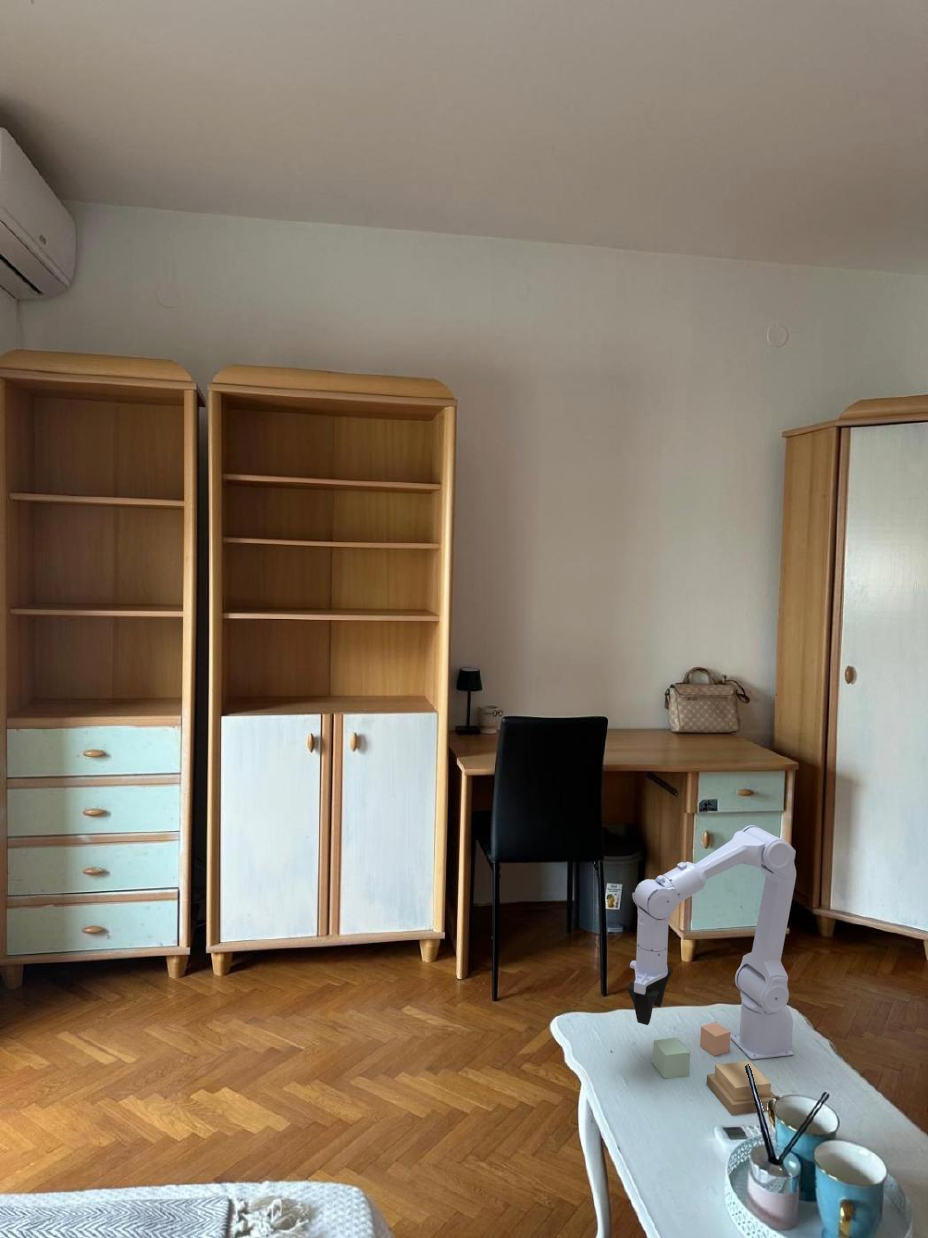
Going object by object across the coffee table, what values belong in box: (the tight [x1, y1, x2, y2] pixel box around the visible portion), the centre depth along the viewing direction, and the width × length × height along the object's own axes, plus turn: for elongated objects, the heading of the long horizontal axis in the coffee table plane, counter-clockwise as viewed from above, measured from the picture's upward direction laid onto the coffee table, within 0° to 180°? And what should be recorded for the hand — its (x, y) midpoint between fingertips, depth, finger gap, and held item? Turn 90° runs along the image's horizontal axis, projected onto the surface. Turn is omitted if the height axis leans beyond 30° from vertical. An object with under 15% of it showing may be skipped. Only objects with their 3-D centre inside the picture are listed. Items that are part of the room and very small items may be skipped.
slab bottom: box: [706, 1073, 776, 1116], centre depth 156 cm, size 9×9×2 cm
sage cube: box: [652, 1037, 691, 1080], centre depth 163 cm, size 5×5×5 cm
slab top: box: [714, 1060, 772, 1101], centre depth 156 cm, size 7×7×2 cm
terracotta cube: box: [699, 1021, 732, 1057], centre depth 171 cm, size 4×4×4 cm
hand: (649, 1014), depth 164 cm, fingers open, 7 cm apart
